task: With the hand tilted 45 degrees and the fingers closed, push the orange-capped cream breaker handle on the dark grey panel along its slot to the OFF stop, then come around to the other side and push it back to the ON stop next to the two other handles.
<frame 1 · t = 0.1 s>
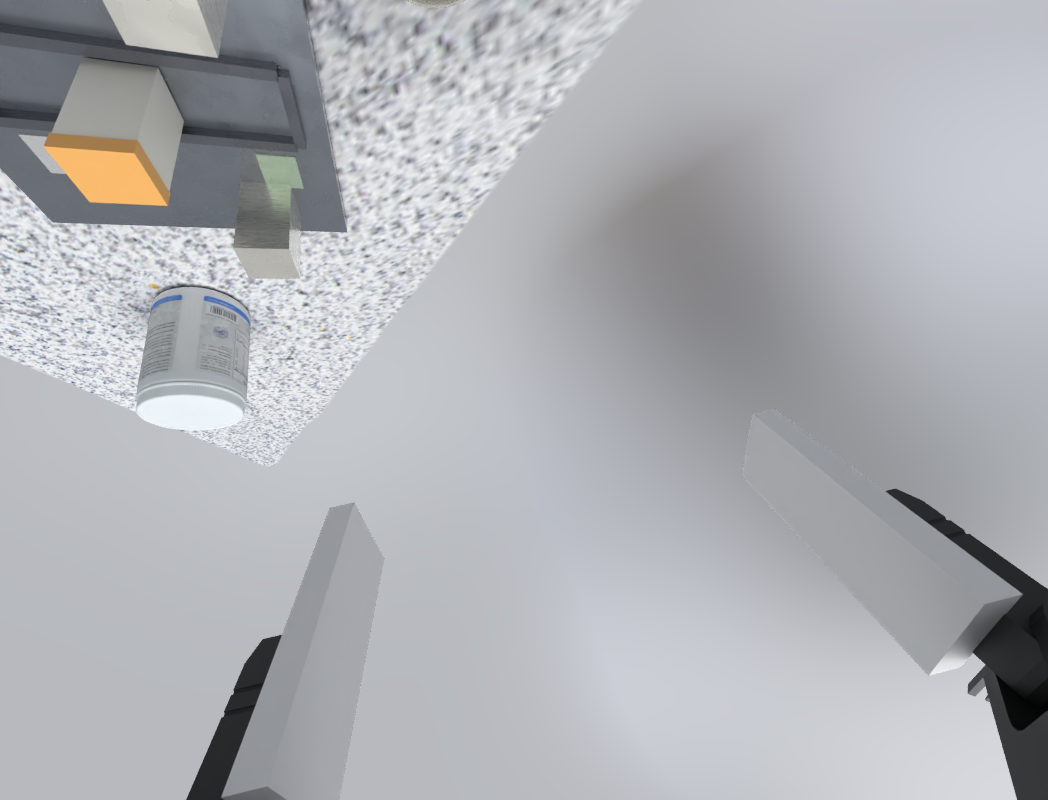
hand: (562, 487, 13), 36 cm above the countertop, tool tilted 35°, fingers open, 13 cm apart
supplement tub: (206, 307, 49), on the countertop
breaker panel: (141, 77, 29), on the countertop
breaker handle: (125, 132, 26), point 6 cm above the countertop, slide at 0.0 cm
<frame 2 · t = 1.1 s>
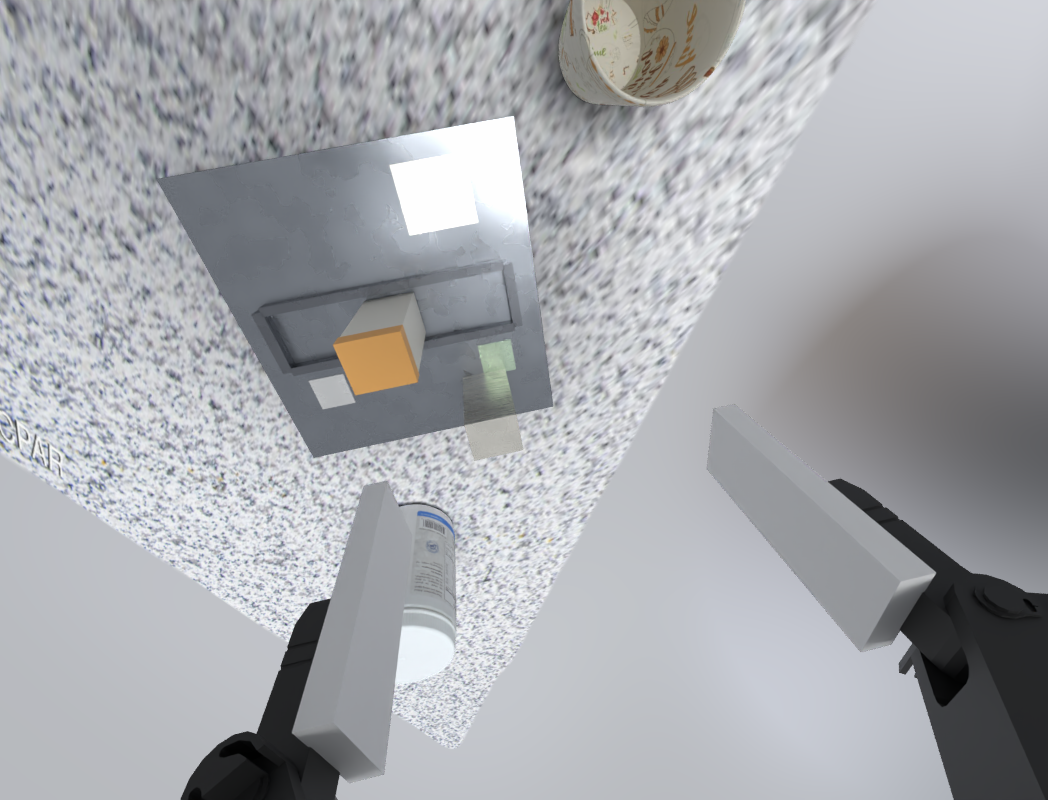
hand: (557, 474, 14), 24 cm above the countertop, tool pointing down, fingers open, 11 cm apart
supplement tub: (415, 528, 47), on the countertop
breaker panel: (398, 310, 34), on the countertop
mug: (591, 11, 26), on the countertop
breaker handle: (387, 337, 29), point 6 cm above the countertop, slide at 0.0 cm
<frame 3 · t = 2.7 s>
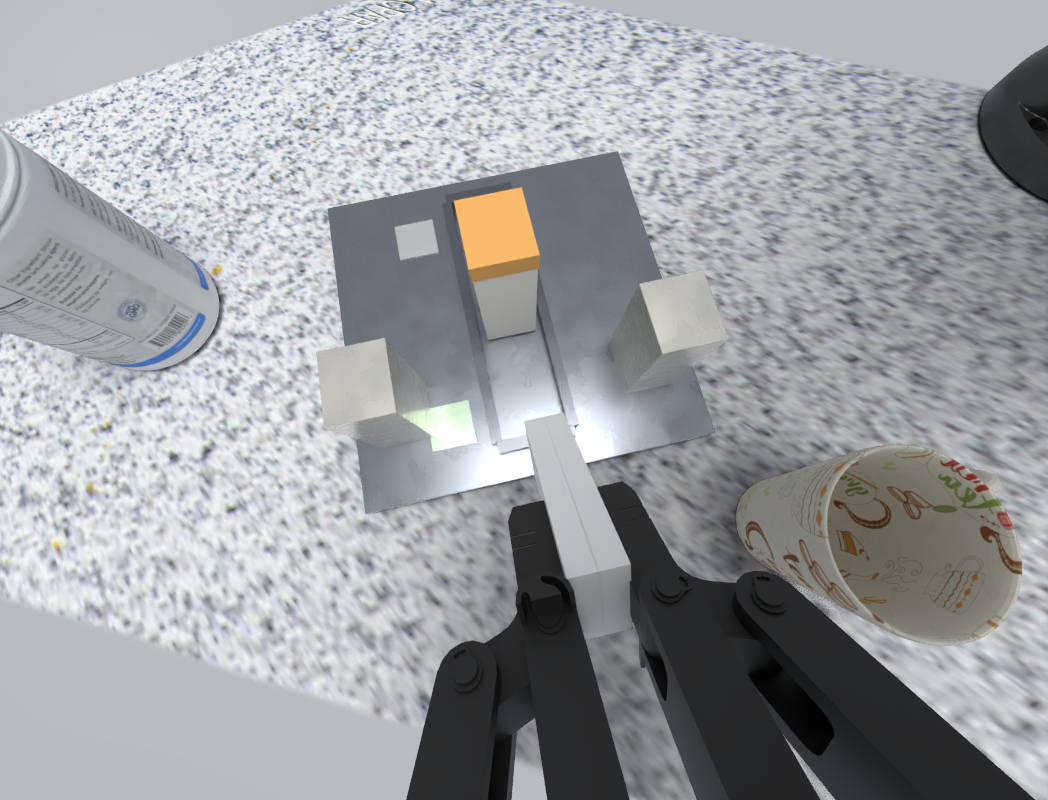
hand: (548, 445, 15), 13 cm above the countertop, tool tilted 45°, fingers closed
supplement tub: (167, 318, 31), on the countertop
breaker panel: (507, 320, 31), on the countertop
mug: (803, 510, 27), on the countertop
breaker handle: (501, 276, 24), point 6 cm above the countertop, slide at 0.0 cm
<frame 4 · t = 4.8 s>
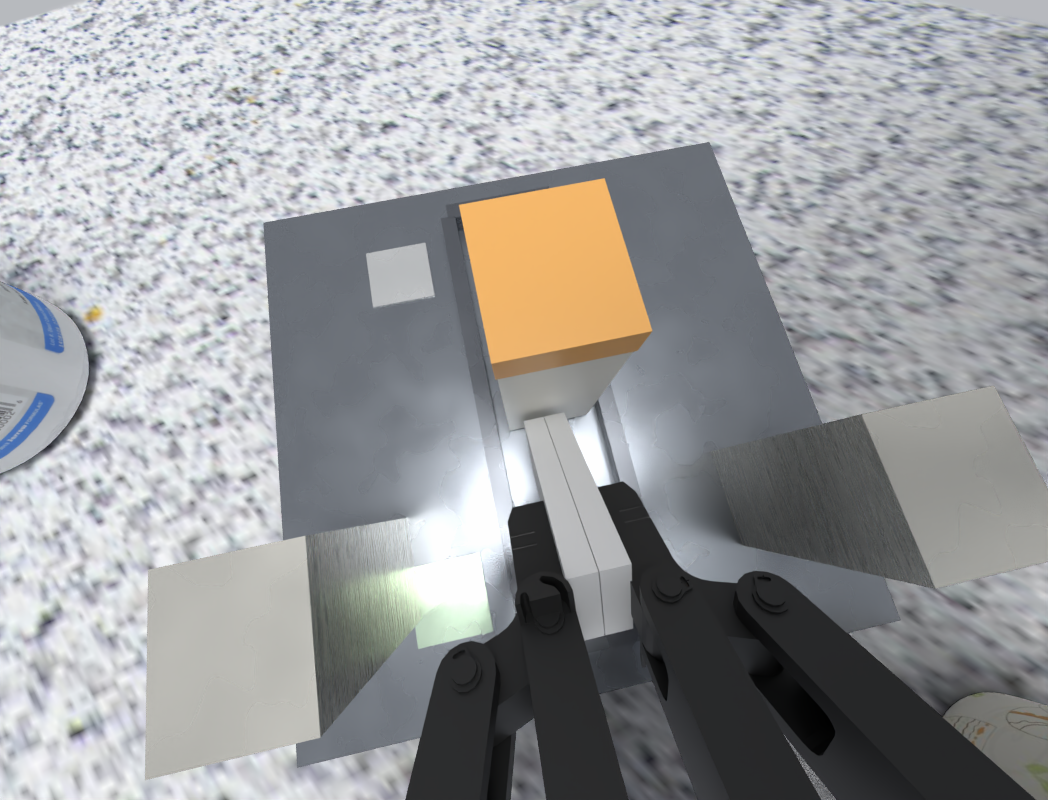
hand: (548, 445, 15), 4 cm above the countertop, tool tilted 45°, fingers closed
supplement tub: (10, 390, 20), on the countertop
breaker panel: (540, 403, 19), on the countertop
mug: (1042, 747, 16), on the countertop
breaker handle: (542, 341, 13), point 6 cm above the countertop, slide at -0.7 cm, touching gripper
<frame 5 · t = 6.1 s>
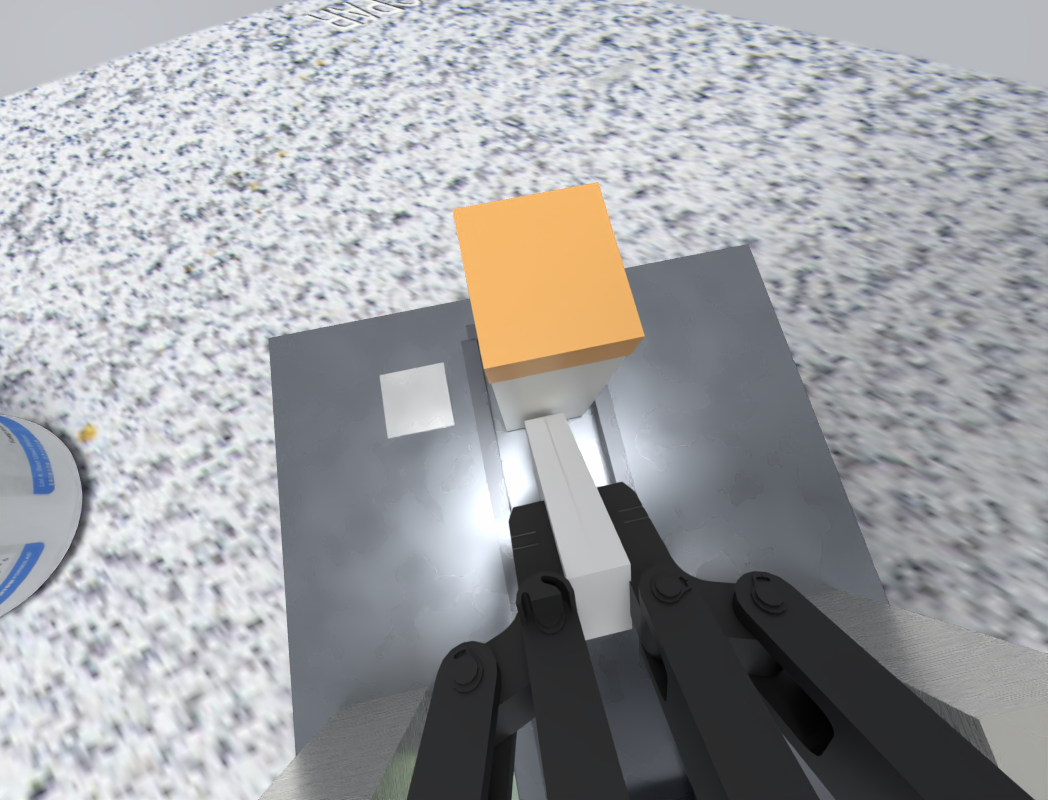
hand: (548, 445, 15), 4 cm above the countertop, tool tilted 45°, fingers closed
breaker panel: (568, 539, 18), on the countertop
breaker handle: (538, 344, 14), point 6 cm above the countertop, slide at -7.2 cm, touching gripper
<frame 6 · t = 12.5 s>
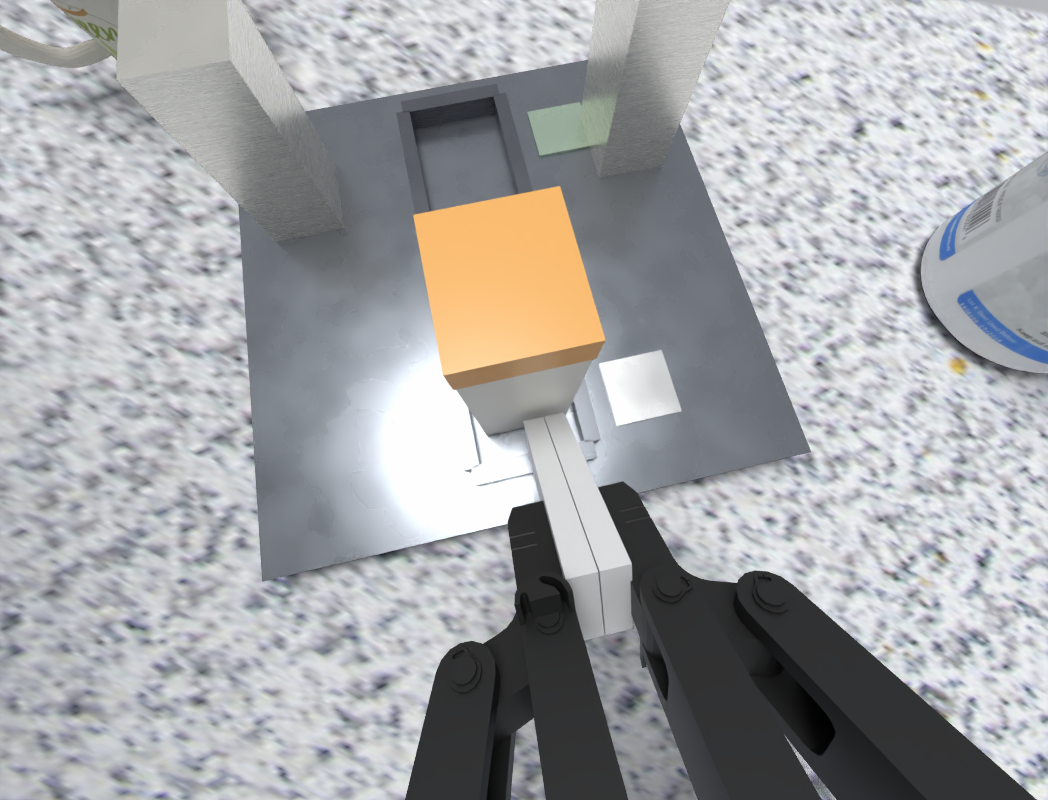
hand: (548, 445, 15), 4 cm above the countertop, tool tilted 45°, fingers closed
supplement tub: (997, 292, 21), on the countertop
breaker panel: (491, 285, 21), on the countertop
mug: (168, 84, 25), on the countertop
breaker handle: (512, 348, 13), point 6 cm above the countertop, slide at -6.2 cm, touching gripper
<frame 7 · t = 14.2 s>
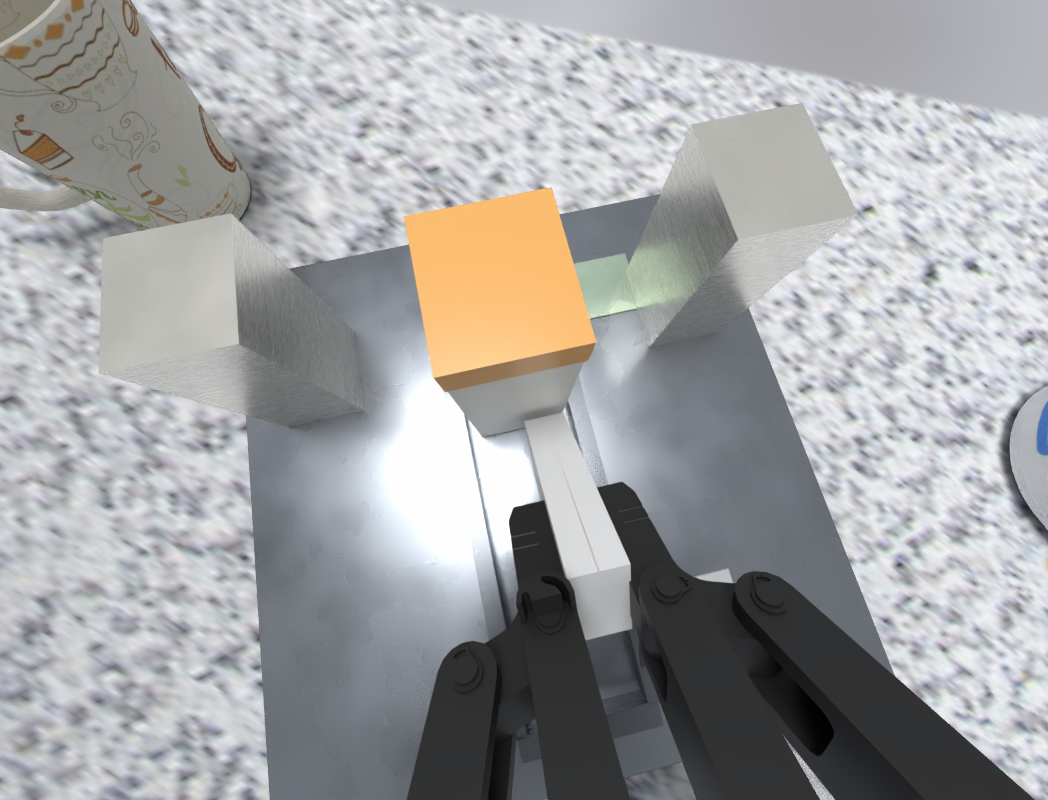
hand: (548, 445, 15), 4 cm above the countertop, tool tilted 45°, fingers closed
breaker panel: (528, 465, 19), on the countertop
mug: (165, 214, 22), on the countertop
breaker handle: (506, 349, 13), point 6 cm above the countertop, slide at 3.6 cm, touching gripper
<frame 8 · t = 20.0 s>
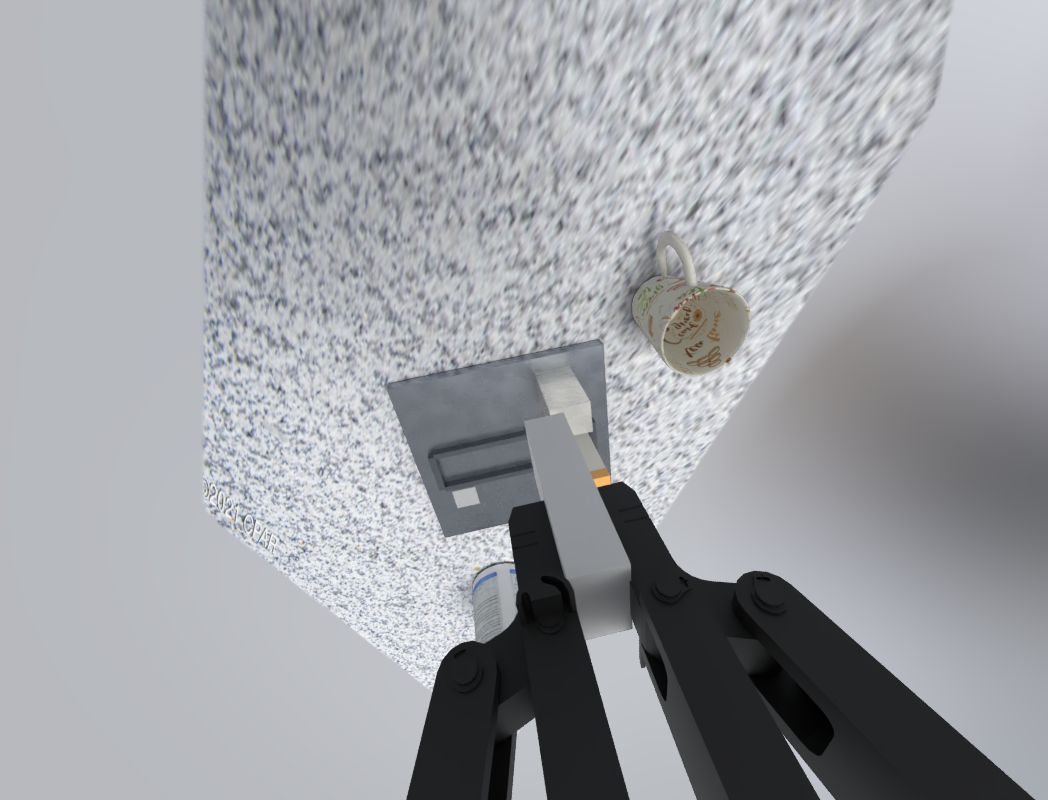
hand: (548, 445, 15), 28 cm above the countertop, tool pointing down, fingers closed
supplement tub: (502, 578, 64), on the countertop
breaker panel: (513, 445, 50), on the countertop
mug: (652, 284, 42), on the countertop
breaker handle: (580, 464, 45), point 6 cm above the countertop, slide at 7.0 cm
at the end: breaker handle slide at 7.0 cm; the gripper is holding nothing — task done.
